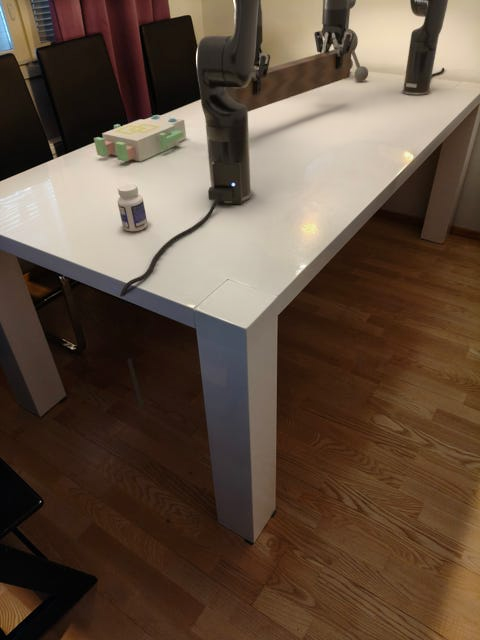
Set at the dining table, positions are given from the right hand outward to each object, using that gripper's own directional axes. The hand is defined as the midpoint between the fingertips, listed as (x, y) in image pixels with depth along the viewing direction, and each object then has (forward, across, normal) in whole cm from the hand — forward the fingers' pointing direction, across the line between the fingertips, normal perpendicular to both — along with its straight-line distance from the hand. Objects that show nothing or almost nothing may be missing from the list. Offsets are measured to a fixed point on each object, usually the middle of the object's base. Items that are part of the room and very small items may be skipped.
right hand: (331, 67), depth 160 cm
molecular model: (+14, +25, -41) cm, 50 cm away
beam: (+4, 0, +20) cm, 20 cm away
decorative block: (+13, +22, +64) cm, 69 cm away
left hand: (0, 0, +39) cm, 39 cm away
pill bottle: (+13, -18, +96) cm, 99 cm away
